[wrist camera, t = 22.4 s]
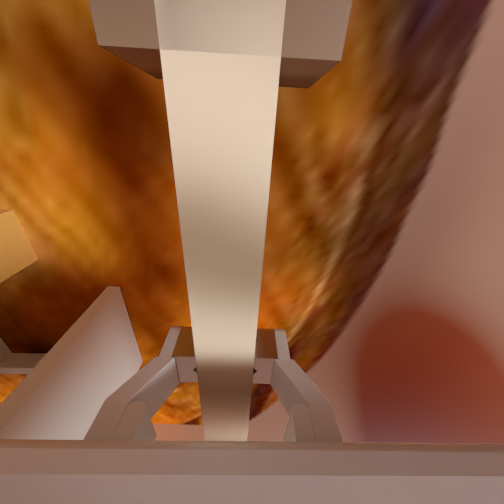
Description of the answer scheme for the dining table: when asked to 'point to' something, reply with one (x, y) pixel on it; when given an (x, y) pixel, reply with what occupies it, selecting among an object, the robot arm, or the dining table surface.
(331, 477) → the robot arm
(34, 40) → the dining table surface
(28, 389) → the cubby
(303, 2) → the pale grey hook
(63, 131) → the dining table surface
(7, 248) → the ochre cube
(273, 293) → the dining table surface
